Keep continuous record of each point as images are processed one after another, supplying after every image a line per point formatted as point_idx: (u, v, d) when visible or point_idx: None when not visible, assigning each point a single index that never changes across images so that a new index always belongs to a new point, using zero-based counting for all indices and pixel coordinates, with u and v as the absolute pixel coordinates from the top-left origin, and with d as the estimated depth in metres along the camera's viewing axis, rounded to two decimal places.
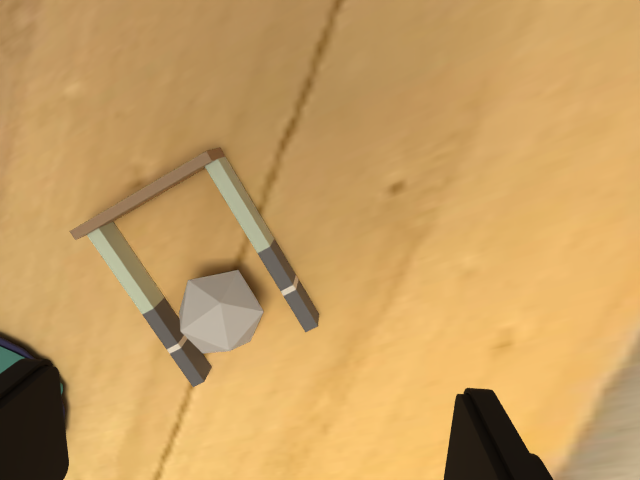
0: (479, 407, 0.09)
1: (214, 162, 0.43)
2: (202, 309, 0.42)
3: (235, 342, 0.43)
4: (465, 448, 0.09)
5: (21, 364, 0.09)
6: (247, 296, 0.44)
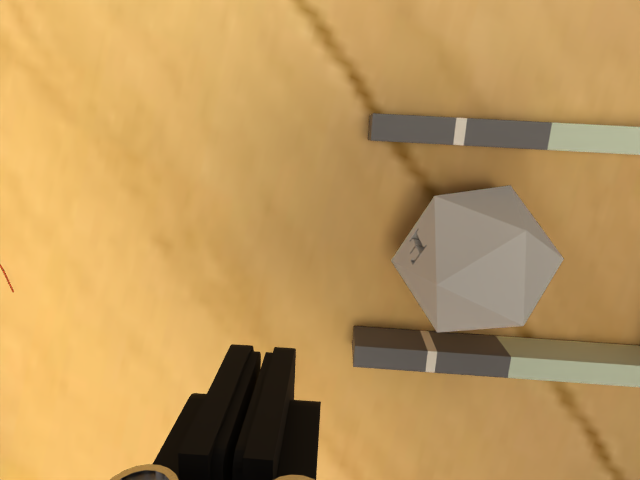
0: (271, 361, 0.10)
1: None
2: (529, 285, 0.23)
3: (438, 295, 0.23)
4: None
5: (236, 349, 0.11)
6: None
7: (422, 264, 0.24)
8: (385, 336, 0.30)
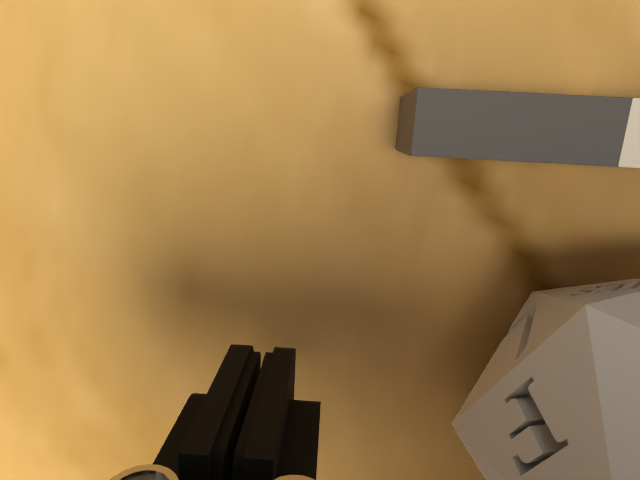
0: (270, 361, 0.10)
1: None
2: None
3: None
4: None
5: (236, 349, 0.11)
6: None
7: None
8: None
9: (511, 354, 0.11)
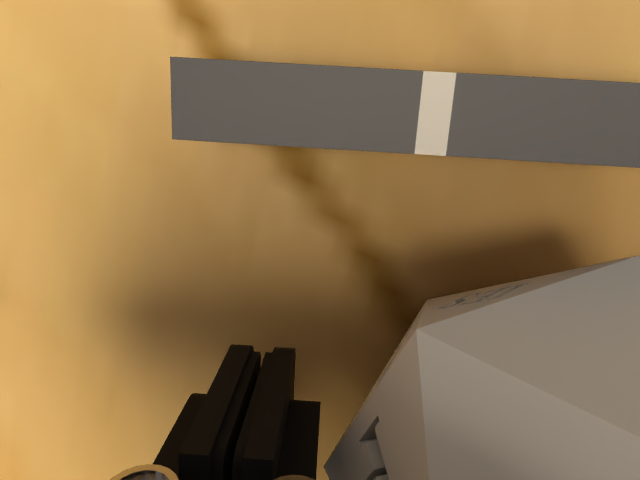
0: (270, 361, 0.10)
1: None
2: None
3: None
4: None
5: (236, 349, 0.11)
6: None
7: None
8: None
9: (377, 383, 0.10)
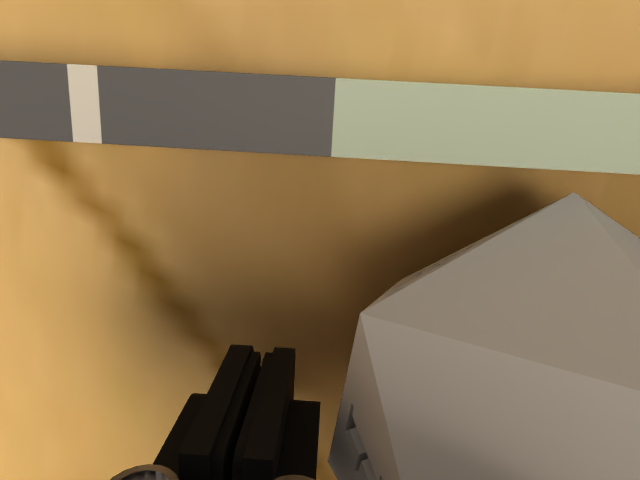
0: (270, 361, 0.10)
1: None
2: None
3: None
4: None
5: (236, 349, 0.11)
6: None
7: None
8: None
9: None
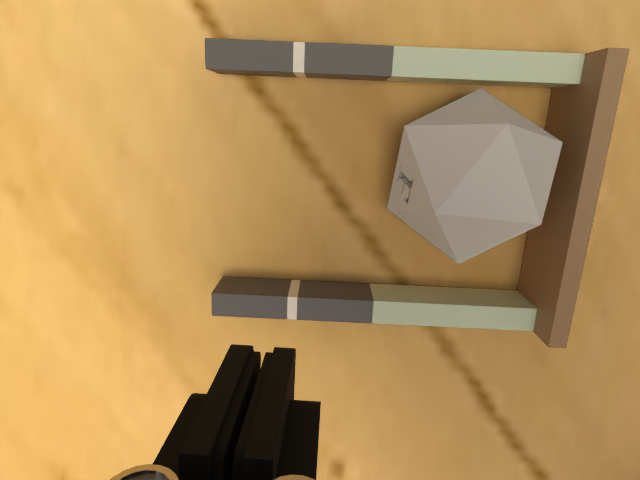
0: (271, 361, 0.10)
1: (531, 324, 0.27)
2: (533, 179, 0.21)
3: (442, 224, 0.22)
4: None
5: (236, 349, 0.11)
6: None
7: (416, 199, 0.22)
8: (250, 285, 0.29)
9: None
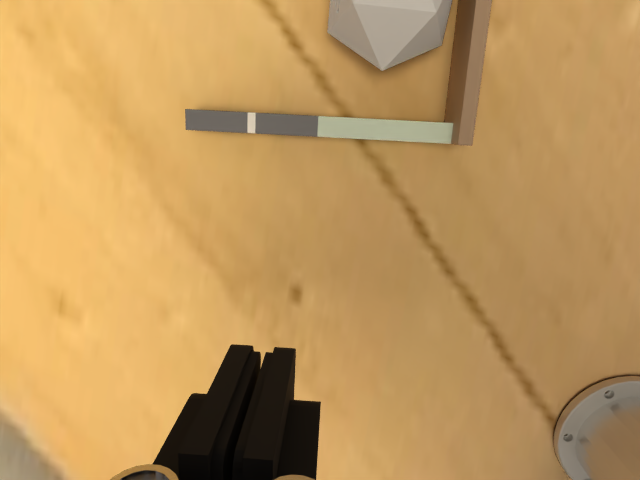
0: (270, 361, 0.10)
1: (449, 137, 0.33)
2: None
3: (360, 16, 0.27)
4: None
5: (236, 349, 0.11)
6: (410, 52, 0.30)
7: (342, 3, 0.28)
8: None
9: None
